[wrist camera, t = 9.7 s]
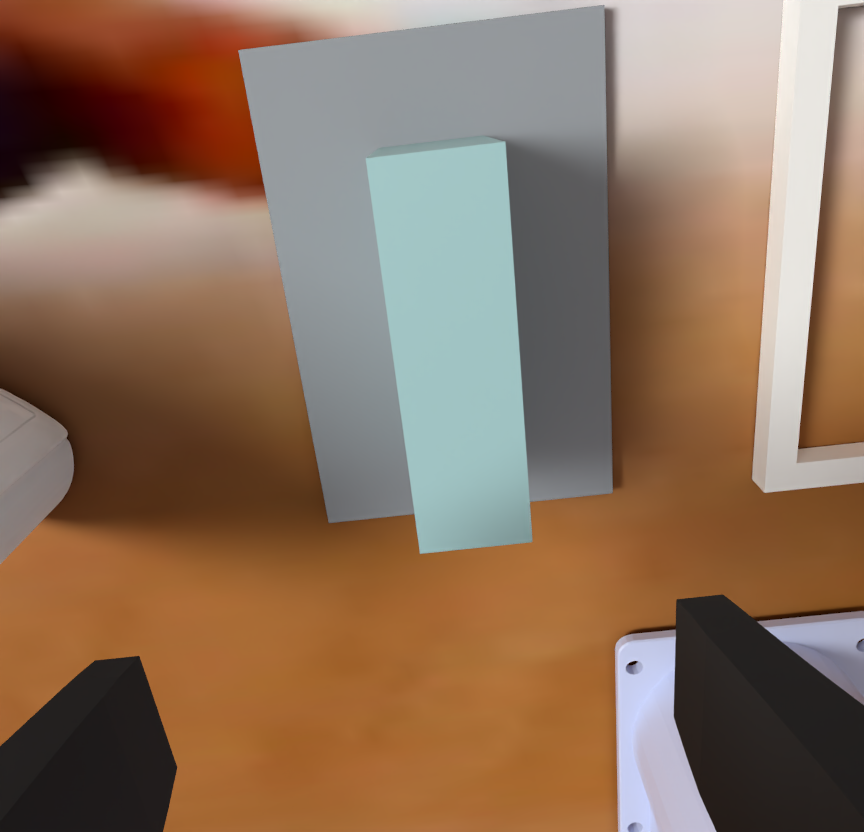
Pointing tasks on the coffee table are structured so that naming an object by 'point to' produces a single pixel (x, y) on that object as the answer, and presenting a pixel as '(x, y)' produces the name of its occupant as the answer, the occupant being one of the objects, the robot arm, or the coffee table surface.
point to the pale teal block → (454, 337)
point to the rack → (796, 256)
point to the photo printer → (29, 469)
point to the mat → (357, 243)
